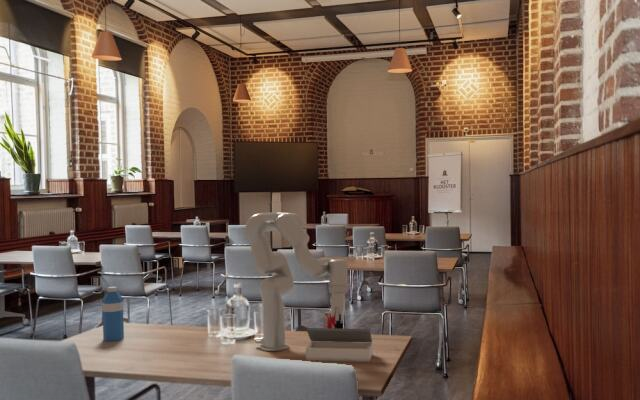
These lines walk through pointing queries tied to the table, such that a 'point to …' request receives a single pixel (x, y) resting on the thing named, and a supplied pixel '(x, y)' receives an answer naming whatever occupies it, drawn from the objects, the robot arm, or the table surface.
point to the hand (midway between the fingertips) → (339, 332)
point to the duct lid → (339, 335)
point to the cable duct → (339, 351)
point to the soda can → (329, 320)
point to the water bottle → (113, 315)
